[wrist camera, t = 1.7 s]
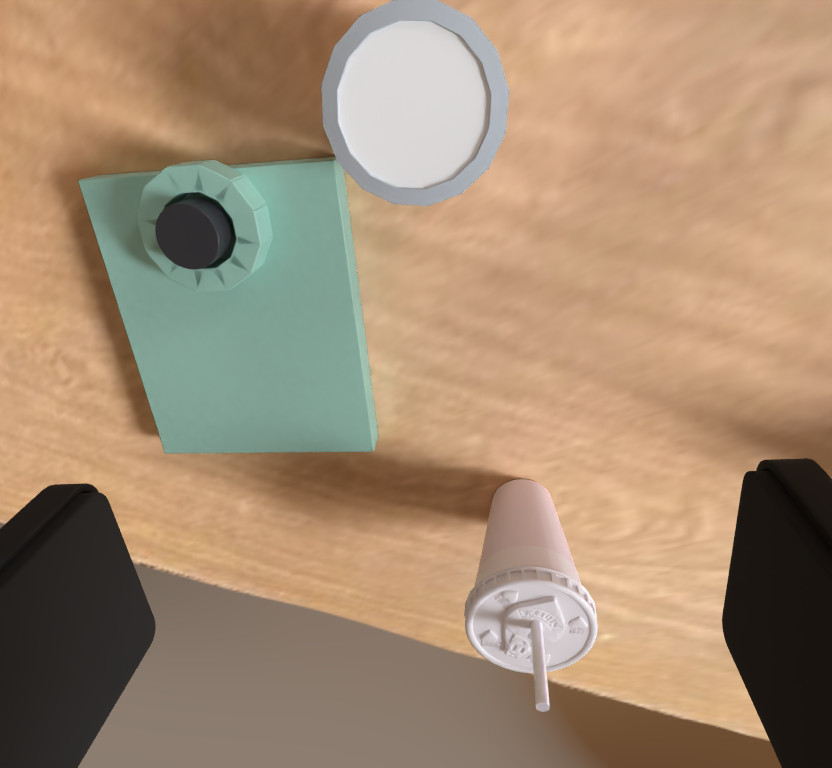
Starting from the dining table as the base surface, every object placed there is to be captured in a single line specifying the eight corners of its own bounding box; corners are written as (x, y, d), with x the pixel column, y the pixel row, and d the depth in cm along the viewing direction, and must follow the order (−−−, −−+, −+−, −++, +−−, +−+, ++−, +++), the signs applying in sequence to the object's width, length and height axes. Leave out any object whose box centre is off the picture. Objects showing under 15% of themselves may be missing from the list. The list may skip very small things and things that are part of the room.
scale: (94, 166, 31) (50, 175, 28) (340, 146, 29) (322, 154, 26) (177, 439, 38) (149, 470, 35) (378, 436, 36) (368, 469, 33)
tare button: (163, 199, 28) (146, 205, 27) (224, 195, 28) (210, 201, 26) (179, 262, 29) (164, 271, 28) (238, 259, 29) (225, 268, 28)
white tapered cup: (328, 76, 28) (282, 75, 22) (457, -21, 26) (446, -53, 19) (408, 207, 30) (386, 240, 24) (532, 129, 28) (544, 143, 22)
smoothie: (594, 485, 36) (647, 698, 24) (543, 557, 39) (566, 779, 27) (498, 444, 36) (501, 640, 23) (453, 520, 39) (435, 729, 26)
